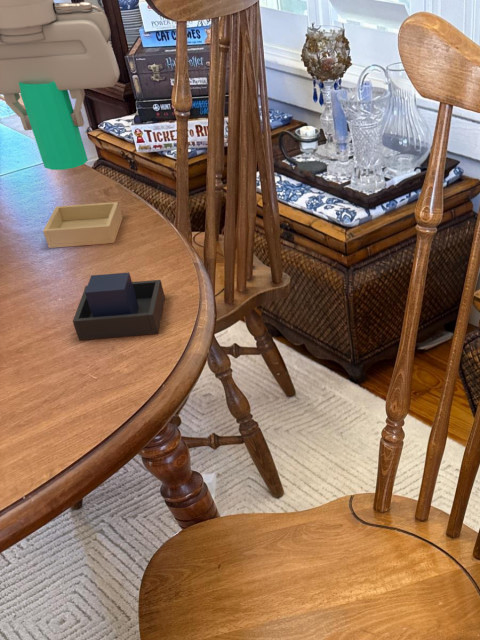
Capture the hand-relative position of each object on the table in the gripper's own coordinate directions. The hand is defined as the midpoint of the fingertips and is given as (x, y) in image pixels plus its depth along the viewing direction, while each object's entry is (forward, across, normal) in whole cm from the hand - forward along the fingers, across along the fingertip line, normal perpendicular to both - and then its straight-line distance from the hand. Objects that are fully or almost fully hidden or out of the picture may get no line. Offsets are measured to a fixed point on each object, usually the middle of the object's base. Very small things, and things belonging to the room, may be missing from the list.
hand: (54, 127), depth 105 cm
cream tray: (+14, 0, 0) cm, 14 cm away
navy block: (+14, -8, +28) cm, 33 cm away
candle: (+5, 0, 0) cm, 5 cm away
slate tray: (+14, -9, +28) cm, 33 cm away
